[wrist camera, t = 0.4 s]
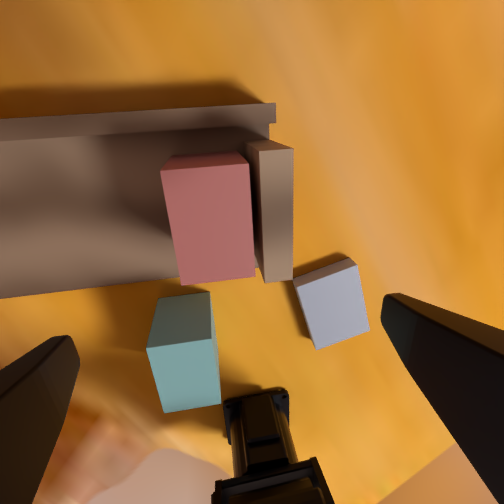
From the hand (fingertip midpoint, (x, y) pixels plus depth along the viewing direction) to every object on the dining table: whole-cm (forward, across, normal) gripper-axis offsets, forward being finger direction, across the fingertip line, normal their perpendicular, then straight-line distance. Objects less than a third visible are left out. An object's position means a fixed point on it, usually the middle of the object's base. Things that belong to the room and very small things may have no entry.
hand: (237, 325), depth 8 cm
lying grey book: (+14, -9, +9) cm, 19 cm away
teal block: (+14, +3, +10) cm, 17 cm away
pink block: (+12, 0, -1) cm, 13 cm away
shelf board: (+13, +8, -1) cm, 16 cm away
